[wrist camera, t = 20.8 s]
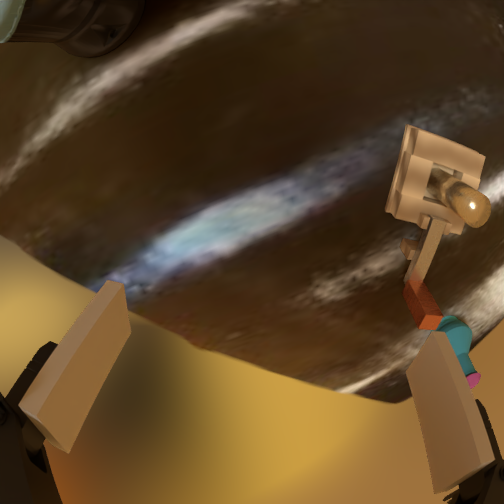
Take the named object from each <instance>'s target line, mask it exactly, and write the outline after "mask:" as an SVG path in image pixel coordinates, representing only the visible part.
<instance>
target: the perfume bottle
mask: <svg viewBox="0 0 504 504" xmlns="http://www.w3.org/2000/svg"><path fill="white" fill-rule="evenodd" d="M432 331H439V332H445V333H446V335H447V337H448V340H449V342H450V344H451V346H452V348H453V350H454V352H455V354H456V356H457V359H458V361H459V363H460V365H461V367H462V370H463V372H464V374H465V377H466V379H467V381H468V384H469V386H470V389H472V388H473V387H475V385H477V384H478V382H479V380H480V377H481V375H480V374H479V373H477V371H476V370H475V369H474V366H473V364H472V362H471V360H470V358H469V356H468V353H469V348H470V344H471V340H472V331H471V329H470V328H469V327H468V325H466V324H465V323H463V322H461V321H460V320H458V319H457V318H456V317H455V316H446V317H444V318H442V320H441V322H440V323H439V325H438V327H437V329H436V330H431V332H432Z"/></svg>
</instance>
